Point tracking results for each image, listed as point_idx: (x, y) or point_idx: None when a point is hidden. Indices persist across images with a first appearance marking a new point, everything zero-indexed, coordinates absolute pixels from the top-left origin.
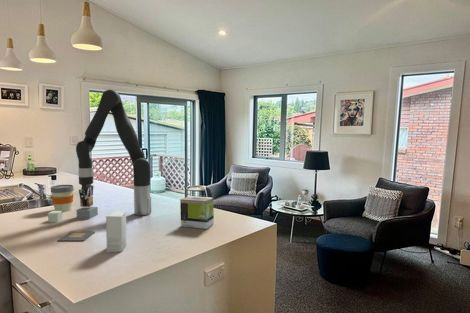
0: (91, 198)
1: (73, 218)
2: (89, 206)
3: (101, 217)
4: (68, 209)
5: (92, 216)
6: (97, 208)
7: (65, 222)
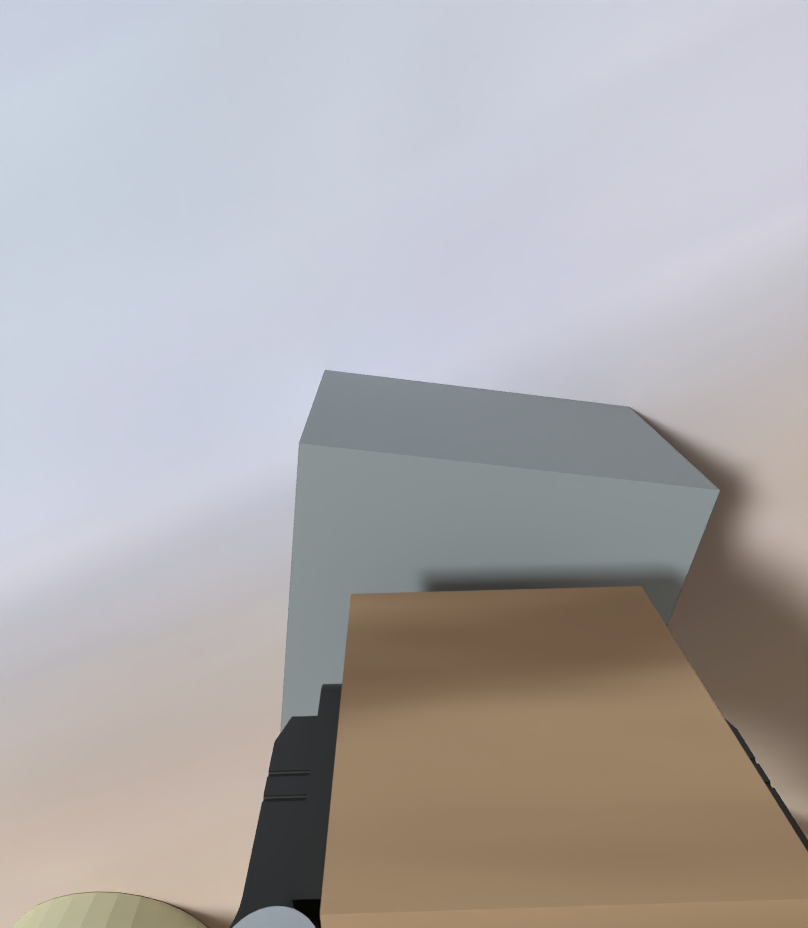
0: (501, 815)
1: None
2: (636, 590)
3: (549, 181)
4: (135, 921)
5: (544, 403)
6: (313, 425)
7: (787, 691)
